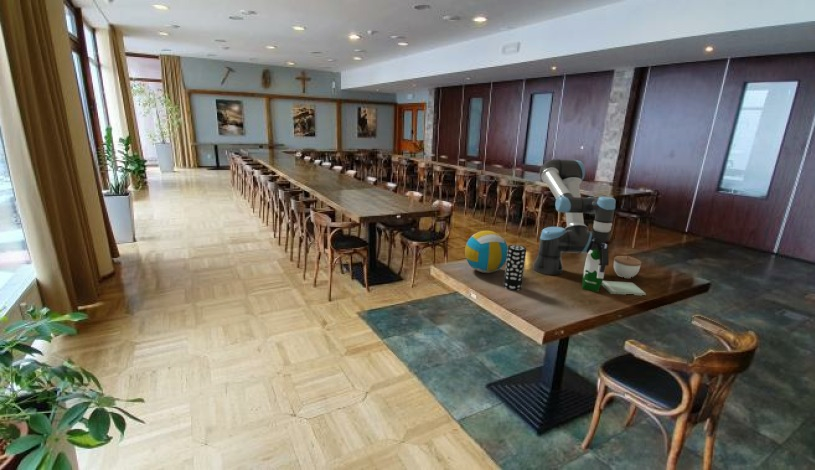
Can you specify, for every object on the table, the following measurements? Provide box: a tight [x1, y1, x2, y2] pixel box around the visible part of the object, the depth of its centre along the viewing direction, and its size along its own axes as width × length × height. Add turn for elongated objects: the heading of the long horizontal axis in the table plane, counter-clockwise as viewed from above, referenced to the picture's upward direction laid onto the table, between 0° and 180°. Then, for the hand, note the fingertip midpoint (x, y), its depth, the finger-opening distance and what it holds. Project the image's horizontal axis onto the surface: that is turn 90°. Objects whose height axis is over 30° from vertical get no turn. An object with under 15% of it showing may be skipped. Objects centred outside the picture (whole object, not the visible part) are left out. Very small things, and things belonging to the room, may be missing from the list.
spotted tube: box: [503, 244, 527, 292], centre depth 189 cm, size 8×8×20 cm
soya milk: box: [581, 249, 604, 293], centre depth 192 cm, size 9×9×20 cm
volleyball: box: [464, 230, 508, 274], centre depth 207 cm, size 22×22×22 cm
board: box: [601, 280, 647, 296], centre depth 195 cm, size 16×13×1 cm
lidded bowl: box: [613, 255, 642, 279], centre depth 211 cm, size 13×13×11 cm
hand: (594, 273), depth 192 cm, fingers open, 13 cm apart
